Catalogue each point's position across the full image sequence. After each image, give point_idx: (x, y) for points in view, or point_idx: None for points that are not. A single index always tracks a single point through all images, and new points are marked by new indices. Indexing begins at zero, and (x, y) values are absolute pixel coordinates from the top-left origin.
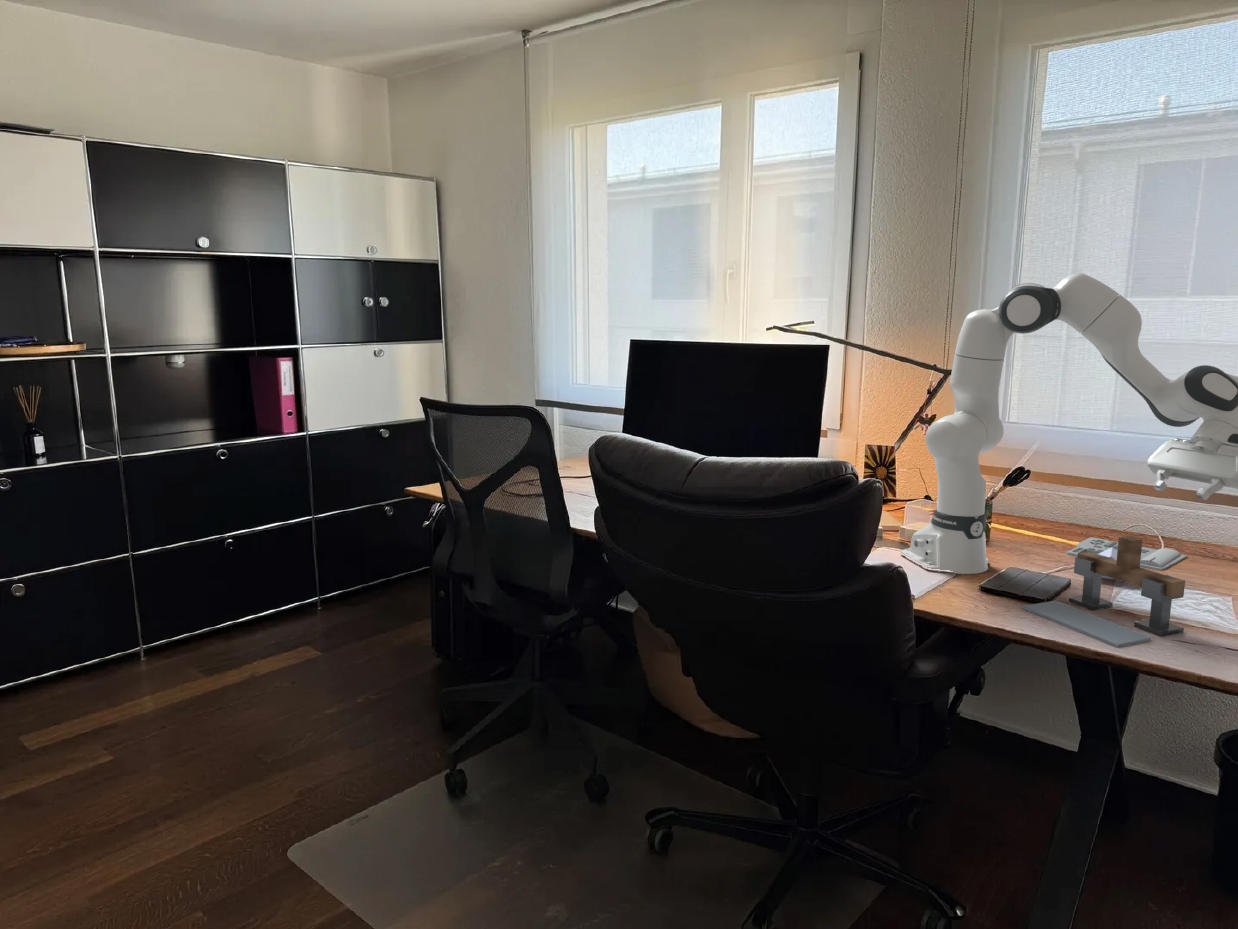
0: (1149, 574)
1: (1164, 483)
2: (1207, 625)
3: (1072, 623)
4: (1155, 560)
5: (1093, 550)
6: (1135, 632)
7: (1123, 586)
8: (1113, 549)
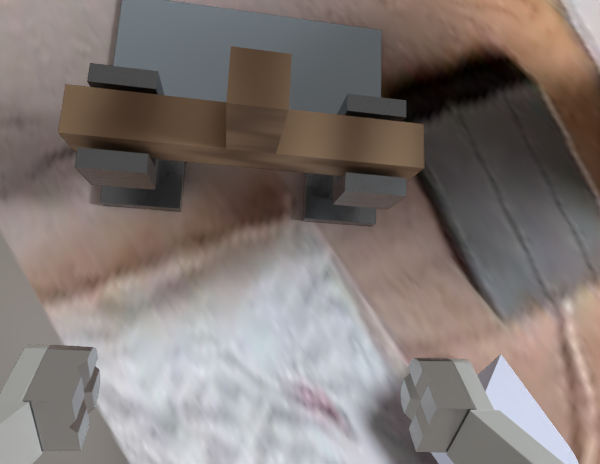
0: (158, 102)
1: (427, 418)
2: (103, 311)
3: (254, 24)
4: None
5: None
6: None
7: None
8: None
